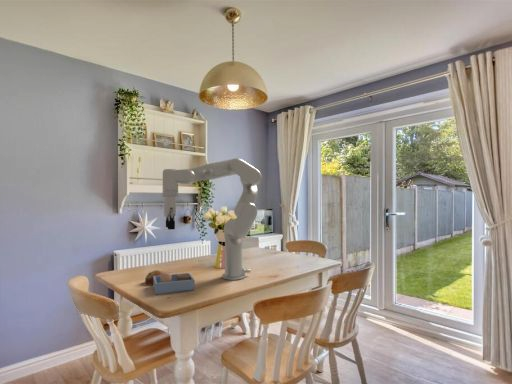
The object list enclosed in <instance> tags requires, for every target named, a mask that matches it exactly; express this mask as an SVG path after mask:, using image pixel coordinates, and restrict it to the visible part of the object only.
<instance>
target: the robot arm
mask: <svg viewBox="0 0 512 384" xmlns="http://www.w3.org/2000/svg"><path fill="white" fill-rule="evenodd" d="M234 175H237V176H239V180H240V182H241V185H242V193H241V195H240V197H239V199H238V201H237V203H236V205H235V207H234V209H233V210H234V212H233V213H234V216H235V217H236V219H235V218H230V219H228V220H227V221H226V222H225V223H224V225H223V233H224V234H223V235H224V273H222V275H221V278H222V279H223V280H227V281H229V280H230V281H237V280H242V279H245V277H246V275H245V274H246V273H247V274H249V273H251V268H248V269H247V268H243V239H244V238H246V237H247V236H248V234H249V232H250V230H251V229H252V227H253V225H254V223H255V220H256V218H257V216H258V208H257V205H255V203H256V200H257V198H258V194H259V191H258V185H259V184H261V182H262V180H263V175H262V173H261V171H260V170H259V169H257V168H255V166H253V165H251V164H249V163H248V162H247V161H245V160H244V159H242V158H239V157H236V158H235V157H234V158H231V159H226V160H220V161H216V162H211V163H207V164H204V165H201V166H197V167H196V166H195V167H192V168H184V169H183V168H181V169H176V168H166V169H164V170H163V171H162V197H163V198H164V199H163V200H164V201H163V217H165V227H166V228H167V230H175V229H176V221H175V219H176V218H175V217H176V215H177V198H178V197H179V184H180V185H189V184H191V183H196V182H197V183H198V182H201V181H209V180H210V181H211V180H216V179H219V178H225V177H229V176H234Z"/></svg>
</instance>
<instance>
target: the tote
mask: <svg viewBox="0 0 512 384" xmlns="http://www.w3.org/2000/svg"><path fill="white" fill-rule="evenodd" d="M181 274H188V276H189V280H182V281H177V275H181ZM195 285H196V284H195V278H194V277H193V276H192V274H191V273H190V272H184V273H183V272H182V273H172V282H163V283H161V275H159V276H153V285H152V287H153V291H154V294H155V296H158V295H166V294H174V293H184V292H191V291H195Z"/></svg>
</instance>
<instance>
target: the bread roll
mask: <svg viewBox="0 0 512 384" xmlns="http://www.w3.org/2000/svg"><path fill="white" fill-rule="evenodd" d="M162 272H163V271H161V270H159V269H155V270H152V271H149V273H147V275H146V277H145V280H144V282H145V284H146V285H148V286H153V276H159V275H161V273H162Z"/></svg>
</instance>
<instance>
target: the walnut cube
mask: <svg viewBox="0 0 512 384" xmlns="http://www.w3.org/2000/svg"><path fill="white" fill-rule="evenodd" d="M180 274H181V273H180ZM182 280H189V276H188V274H181V275H177V281H182Z"/></svg>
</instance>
